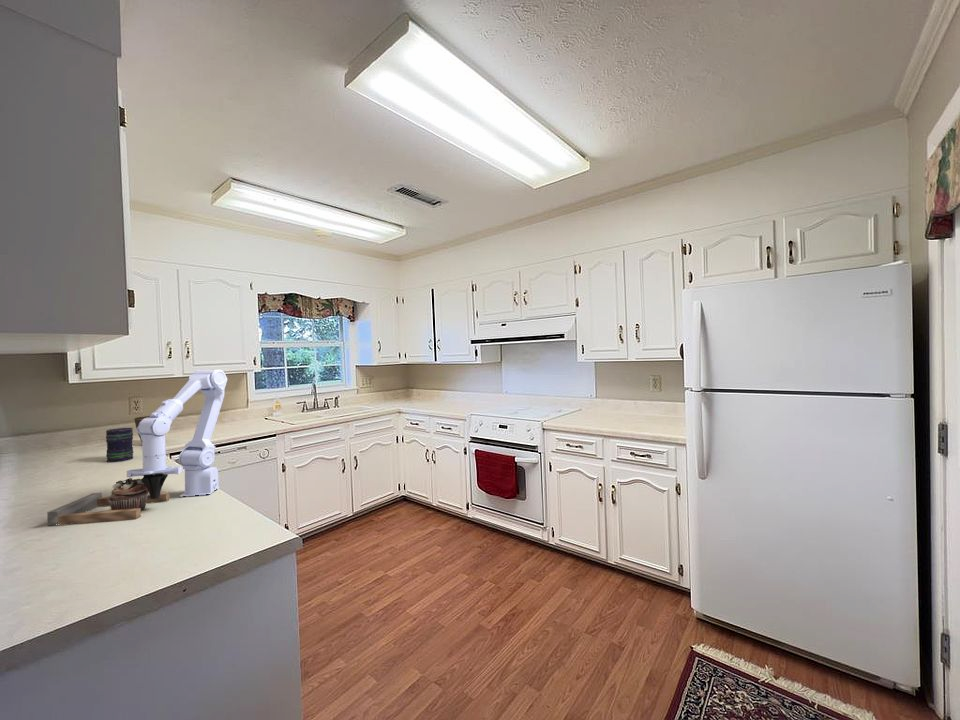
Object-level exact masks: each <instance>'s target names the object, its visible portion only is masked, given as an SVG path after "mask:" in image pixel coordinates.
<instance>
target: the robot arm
mask: <svg viewBox="0 0 960 720" xmlns="http://www.w3.org/2000/svg"><path fill="white" fill-rule="evenodd" d="M227 382H228V377H227V375H226V373H225V372H224V371H223V370H222V369H204V370H203V369H196V370H195V371H193V372H192V374H191V375H189V377H188V381H186V383H185V384H184V385H183V386H182V388H181V389H180V390H178V392H177V394H176V395H175V396H174V397H173V398H169V399H166V400H163V401H162V402H161V403H160V404H161V405H160V406H159V407H158V408H156V410H155V411H153V412H152V413H151V414H150V415H149V416H150V417H148V418H145V419H143V420H142V421H141V422H140V423H139V425H138V427H137V429H136V432H137V434H138V433H139V434H140V436H141V440H142V442H141V444H142V445H141V446H142V447H141V448H142V468H136V469H129V470H127V471H126V478H132V477H133V478H134V477H142V478H140V479H141V481H142V482H143V484H144V485H145V486H146V488H147V490H148V494H150V497H151V499H156V498H158V497H159V496H160V493H162V488H163V485H164V484H165V481H166V479H167V477H168V476H169V475H180V474H181V473H182V472H183V470H184V492H183V493H181V494H180V495H179V497H180V498H181V497H182V498H184V497H183V496H186V497H196V496H195V495H199V496H207V495H206V494H210V495H211V494H213V493H215V491H214V490H216V489H215V488H217V490H219V489H220V486H219V470H218V467H216V466H212V465H213V463H214V461H215V457H216V456H215V452H216V451H215V450H216V448H217V447H216V445H214V444H213V443H212V437H213V434H214V431H215V428H216V424H217V421H218V418H219V414H220V411H221V409H222V408H221V407H222V404H223V401H224V398H225V389H226V386H227ZM198 391H200V392H201V394H203V395H204V396H205V399H204V403H203V406H202V409H201V412H200V415H199V418H198V422H197V425H196V428H195V431H194V434H193V437H192V439H191V440H190V441H188V442H186V444H185V445H184V448H183V450H182V451H181V452H180V454H179V455H178V464H179V465H180V466H167V460H166V459H167V458H166V457H167V453H166V451H167V450H166V434H167V433H169V432H170V429H171V425H172V424H173V421H174V420H175V419H176V418H177V416H179V415H180V413H182V412H183V410H184V405H185V403H186V402H188V401H189V400H190V399H191V398H192V397H193V396H194V395H195V394H196V393H198ZM141 440H140V441H141ZM182 469H183V470H182ZM217 490H216V491H217Z"/></svg>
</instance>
